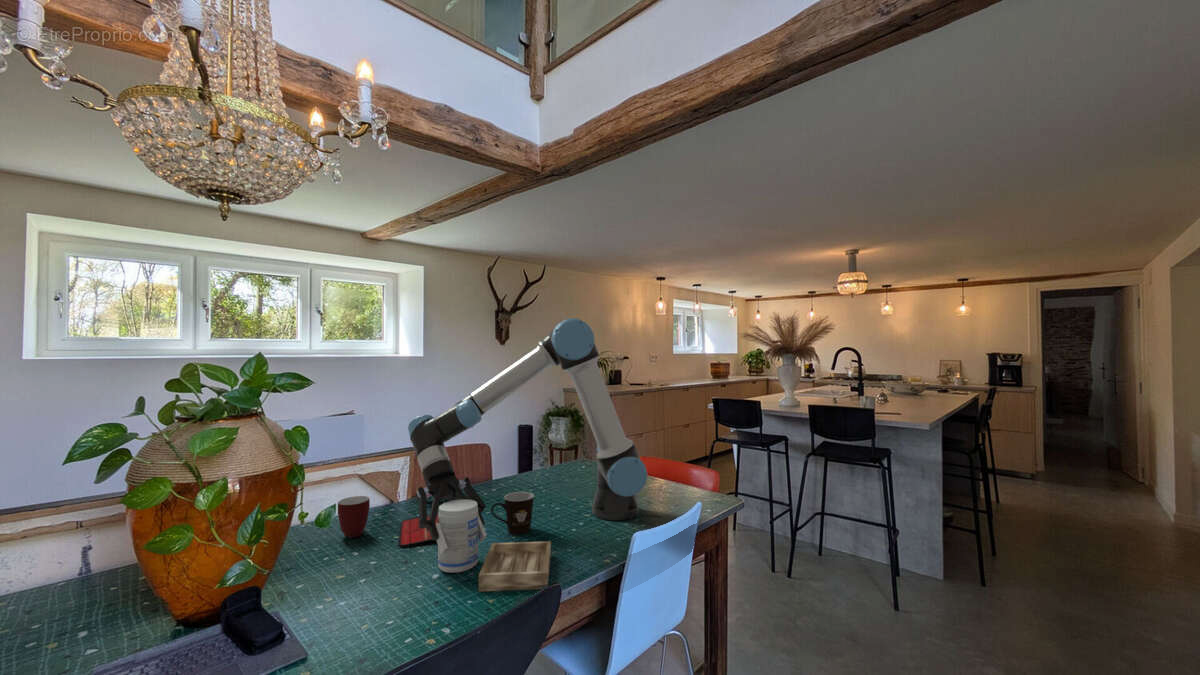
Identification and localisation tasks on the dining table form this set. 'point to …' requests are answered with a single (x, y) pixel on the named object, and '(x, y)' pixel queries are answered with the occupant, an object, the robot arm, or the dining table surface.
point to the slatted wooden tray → (516, 566)
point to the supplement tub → (459, 535)
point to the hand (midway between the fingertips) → (464, 544)
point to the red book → (414, 534)
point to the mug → (353, 515)
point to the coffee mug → (517, 512)
